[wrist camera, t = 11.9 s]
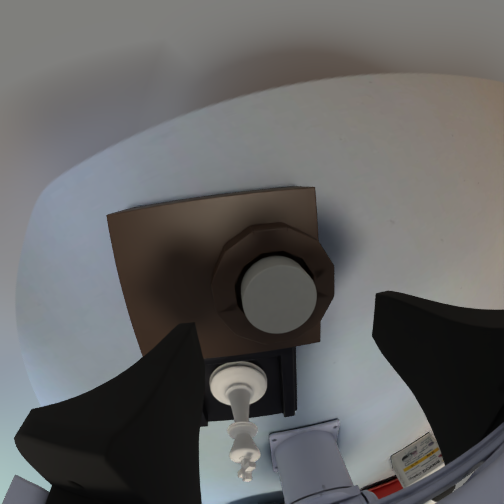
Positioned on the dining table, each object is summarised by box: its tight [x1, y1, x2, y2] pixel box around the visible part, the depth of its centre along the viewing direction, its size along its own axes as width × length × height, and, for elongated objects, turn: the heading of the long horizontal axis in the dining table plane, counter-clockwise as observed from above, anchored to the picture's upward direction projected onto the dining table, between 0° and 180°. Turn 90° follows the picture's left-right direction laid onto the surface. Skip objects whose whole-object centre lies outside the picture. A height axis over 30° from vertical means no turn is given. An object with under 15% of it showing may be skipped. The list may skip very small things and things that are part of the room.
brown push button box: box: [107, 186, 334, 359], centre depth 17 cm, size 10×12×6 cm
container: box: [391, 433, 455, 504], centre depth 25 cm, size 8×8×13 cm
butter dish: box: [368, 478, 403, 499], centre depth 30 cm, size 12×12×8 cm
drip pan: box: [200, 346, 297, 427], centre depth 21 cm, size 10×10×2 cm
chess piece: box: [209, 361, 267, 482], centre depth 17 cm, size 5×5×10 cm
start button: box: [241, 256, 317, 333], centre depth 14 cm, size 4×4×2 cm
